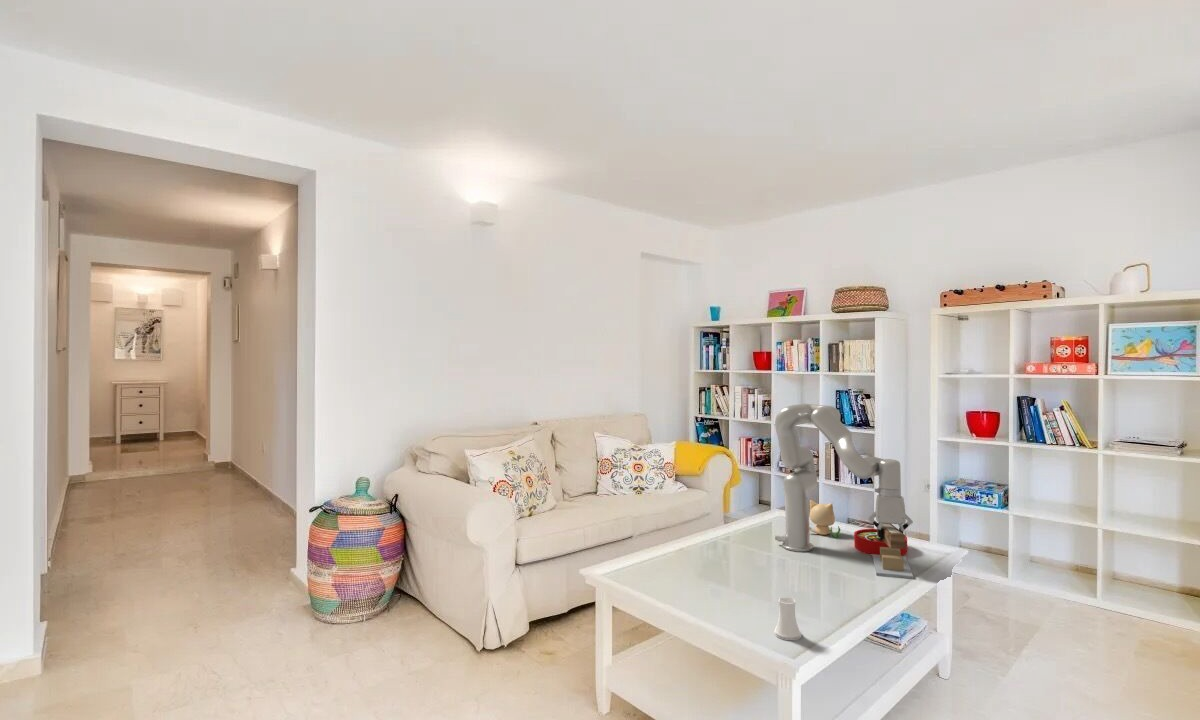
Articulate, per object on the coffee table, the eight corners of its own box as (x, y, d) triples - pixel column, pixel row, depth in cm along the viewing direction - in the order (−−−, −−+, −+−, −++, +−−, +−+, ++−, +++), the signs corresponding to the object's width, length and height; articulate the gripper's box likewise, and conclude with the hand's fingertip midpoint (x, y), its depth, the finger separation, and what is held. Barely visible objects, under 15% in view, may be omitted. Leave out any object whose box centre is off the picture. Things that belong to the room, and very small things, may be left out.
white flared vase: (799, 642, 172) (798, 607, 172) (772, 637, 176) (771, 603, 176) (802, 631, 179) (802, 597, 179) (776, 627, 182) (775, 593, 182)
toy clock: (846, 529, 263) (893, 528, 263) (846, 542, 263) (893, 541, 263) (866, 543, 243) (916, 542, 243) (866, 557, 243) (917, 556, 243)
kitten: (844, 534, 274) (843, 501, 274) (835, 540, 267) (834, 505, 267) (812, 528, 284) (811, 496, 284) (802, 533, 277) (802, 500, 277)
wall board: (876, 575, 223) (876, 560, 223) (872, 556, 244) (872, 542, 244) (913, 578, 219) (912, 563, 219) (905, 559, 239) (905, 545, 239)
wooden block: (905, 548, 223) (905, 534, 223) (890, 548, 224) (890, 534, 224) (890, 535, 239) (890, 522, 239) (877, 535, 239) (877, 522, 239)
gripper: (865, 493, 231) (866, 540, 231) (916, 496, 225) (917, 545, 225) (864, 489, 238) (865, 535, 238) (913, 491, 232) (914, 539, 232)
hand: (890, 539), depth 231 cm, fingers closed on wooden block, 5 cm apart
